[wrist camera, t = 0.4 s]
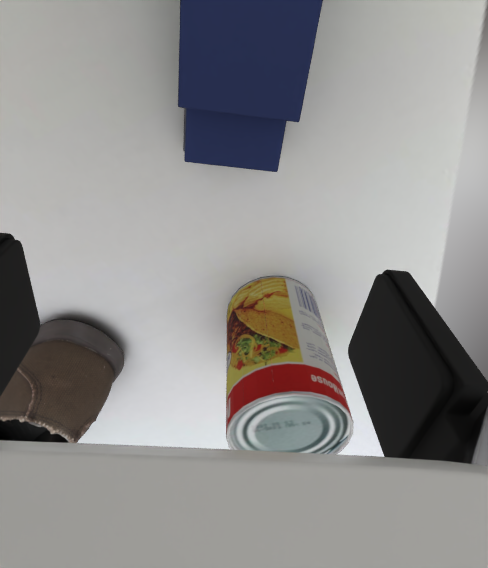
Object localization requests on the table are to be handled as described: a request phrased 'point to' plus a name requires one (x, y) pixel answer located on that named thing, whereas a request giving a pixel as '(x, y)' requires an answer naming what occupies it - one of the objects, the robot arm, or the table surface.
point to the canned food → (282, 373)
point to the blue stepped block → (243, 77)
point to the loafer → (60, 384)
